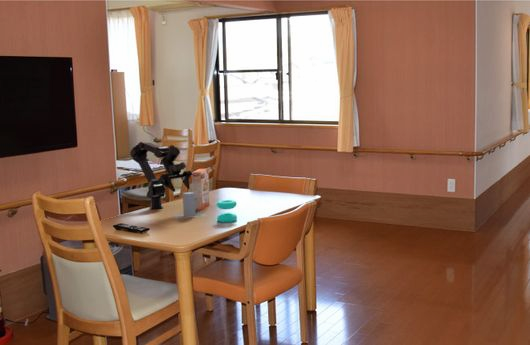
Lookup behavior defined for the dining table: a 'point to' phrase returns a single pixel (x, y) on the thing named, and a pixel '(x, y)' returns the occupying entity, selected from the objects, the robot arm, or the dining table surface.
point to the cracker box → (200, 188)
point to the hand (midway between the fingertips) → (181, 190)
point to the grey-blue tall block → (189, 204)
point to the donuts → (226, 216)
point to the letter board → (181, 216)
